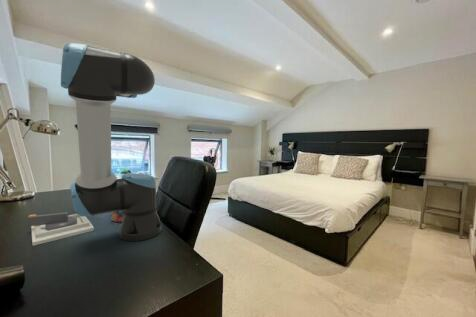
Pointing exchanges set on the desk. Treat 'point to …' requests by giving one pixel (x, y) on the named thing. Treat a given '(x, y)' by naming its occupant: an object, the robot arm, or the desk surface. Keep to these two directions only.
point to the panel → (60, 231)
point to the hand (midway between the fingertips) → (93, 160)
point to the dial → (52, 220)
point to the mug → (118, 216)
